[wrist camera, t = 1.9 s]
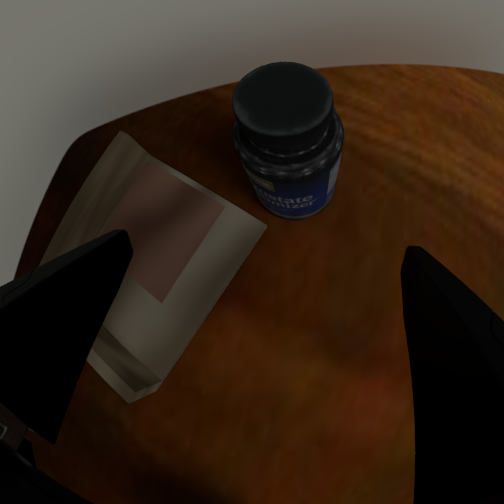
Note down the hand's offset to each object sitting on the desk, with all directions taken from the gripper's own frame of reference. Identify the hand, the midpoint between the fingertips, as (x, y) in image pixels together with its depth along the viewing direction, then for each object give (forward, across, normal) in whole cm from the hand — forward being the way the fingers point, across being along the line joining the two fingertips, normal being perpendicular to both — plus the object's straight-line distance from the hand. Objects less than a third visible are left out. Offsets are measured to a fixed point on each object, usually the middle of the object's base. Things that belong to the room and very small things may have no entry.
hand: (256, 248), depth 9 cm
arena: (+10, +12, +9) cm, 18 cm away
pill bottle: (+15, 0, +4) cm, 15 cm away
